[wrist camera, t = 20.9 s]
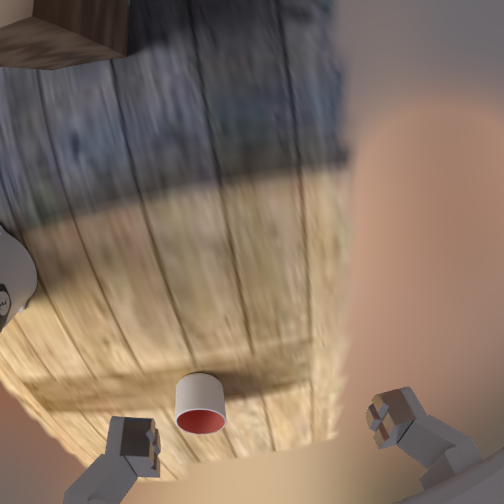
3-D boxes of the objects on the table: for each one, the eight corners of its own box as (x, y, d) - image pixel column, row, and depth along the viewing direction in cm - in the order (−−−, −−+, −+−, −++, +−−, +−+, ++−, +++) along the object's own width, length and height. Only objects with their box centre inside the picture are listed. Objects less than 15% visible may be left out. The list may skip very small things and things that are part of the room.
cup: (173, 370, 62) (172, 408, 53) (222, 369, 63) (226, 407, 54) (178, 398, 66) (178, 434, 57) (222, 397, 68) (226, 433, 59)
